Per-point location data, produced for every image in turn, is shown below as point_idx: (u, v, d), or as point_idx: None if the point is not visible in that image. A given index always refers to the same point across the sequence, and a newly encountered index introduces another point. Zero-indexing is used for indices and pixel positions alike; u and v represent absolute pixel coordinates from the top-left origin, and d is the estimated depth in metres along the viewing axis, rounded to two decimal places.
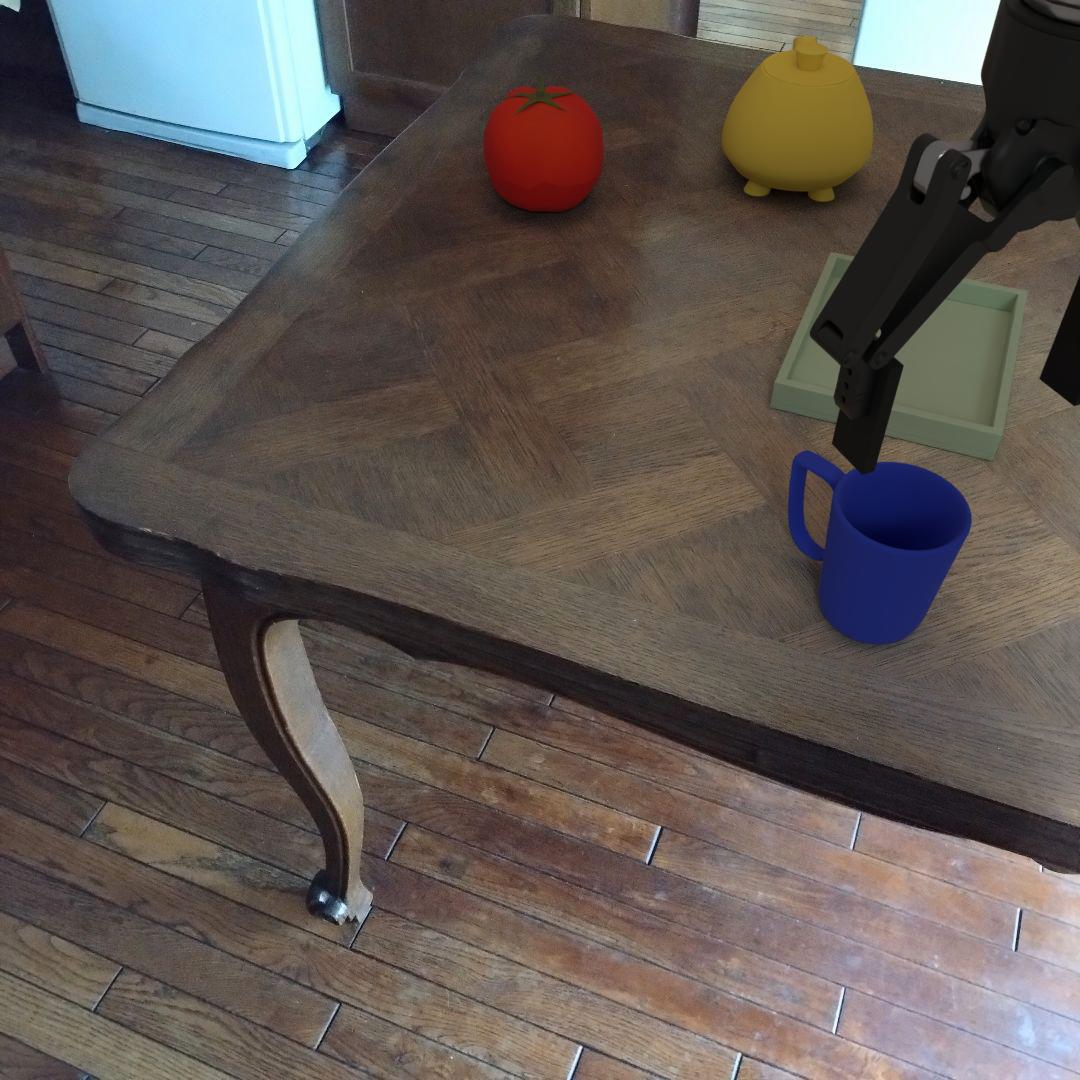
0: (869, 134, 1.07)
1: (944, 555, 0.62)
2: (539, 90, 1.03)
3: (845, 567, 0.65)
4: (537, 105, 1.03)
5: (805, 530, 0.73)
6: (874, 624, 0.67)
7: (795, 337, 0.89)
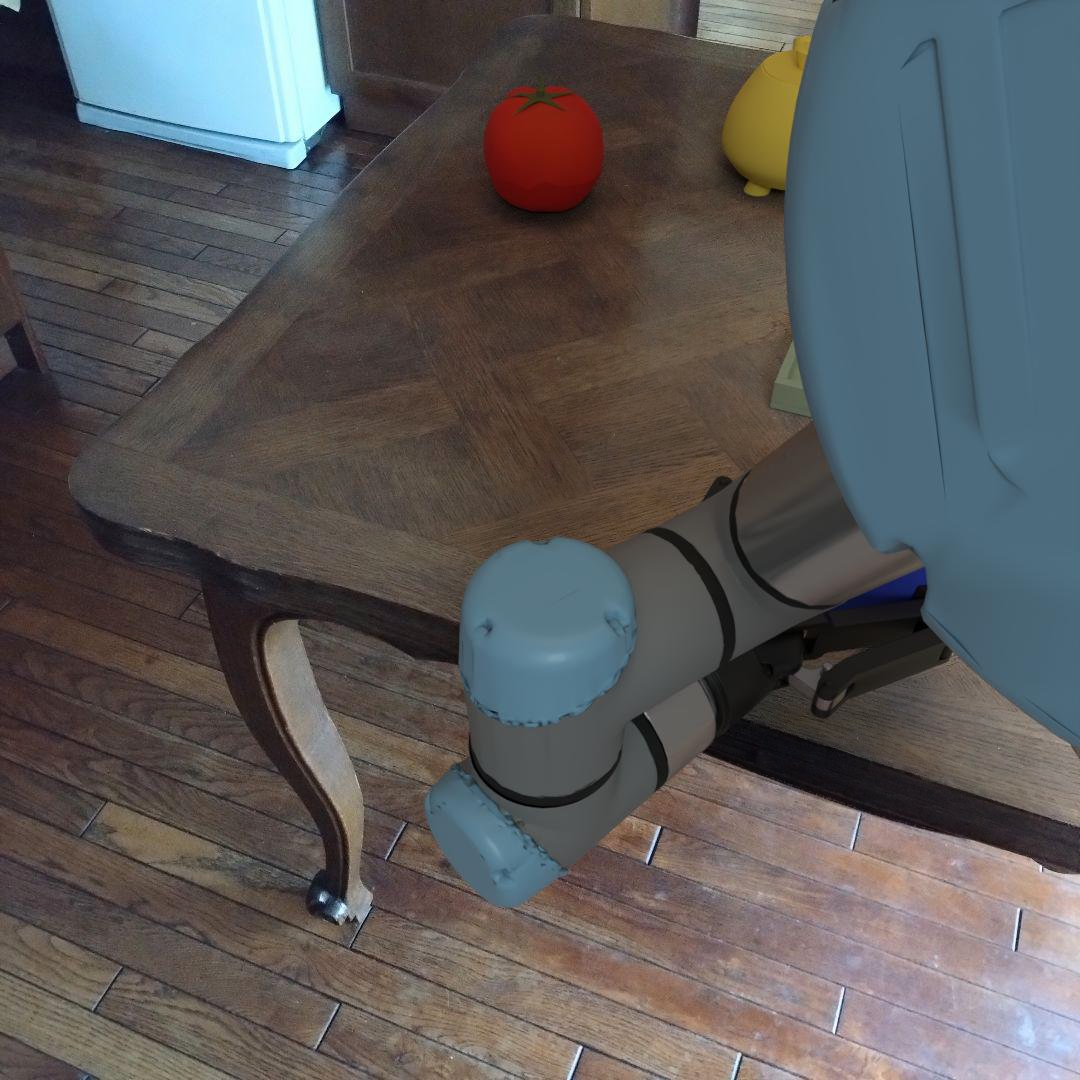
0: None
1: None
2: (539, 90, 1.03)
3: None
4: (537, 104, 1.03)
5: None
6: None
7: None
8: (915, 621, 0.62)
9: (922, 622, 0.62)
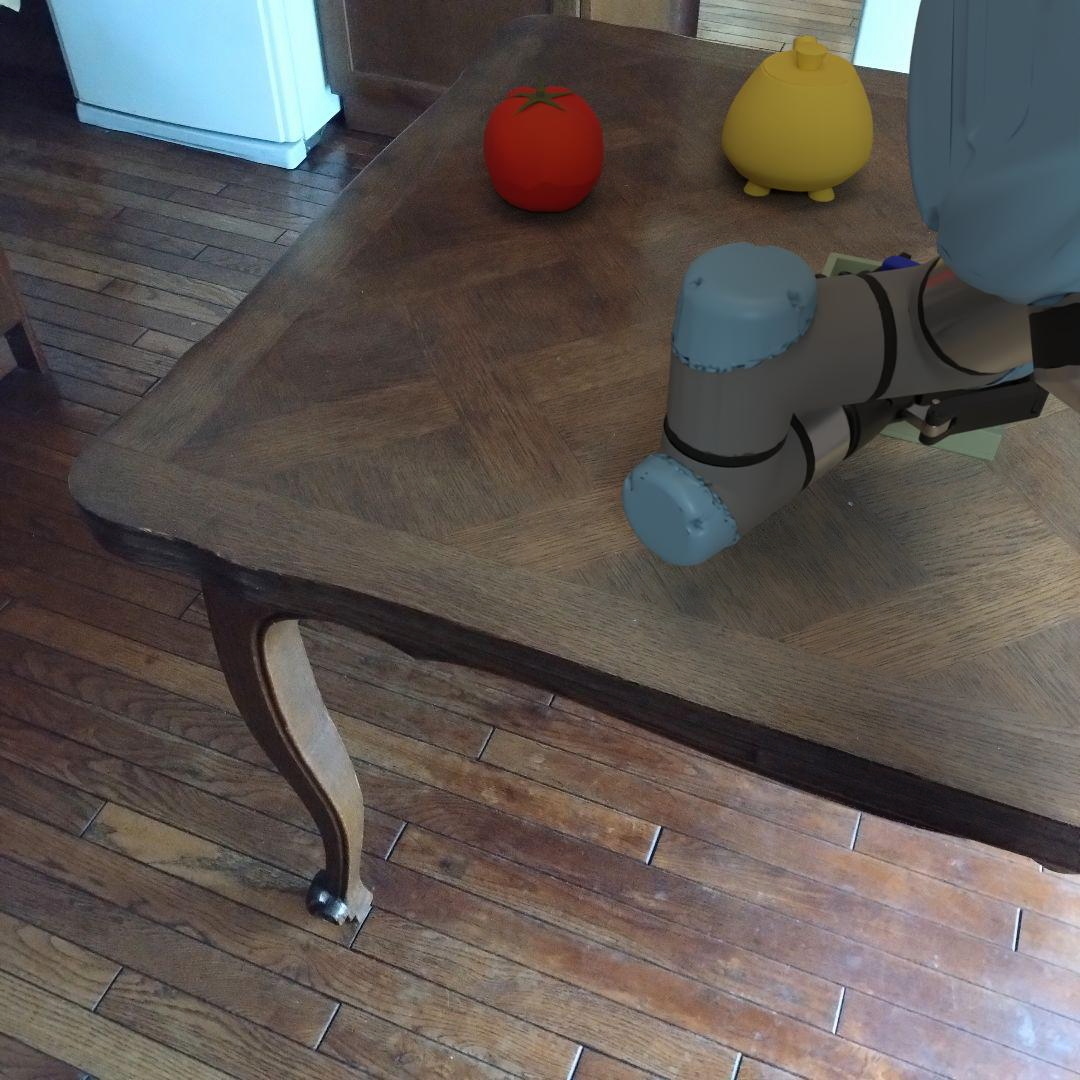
0: (869, 134, 1.07)
1: None
2: (539, 90, 1.03)
3: None
4: (537, 105, 1.03)
5: None
6: None
7: None
8: (1010, 381, 0.75)
9: (1016, 384, 0.75)
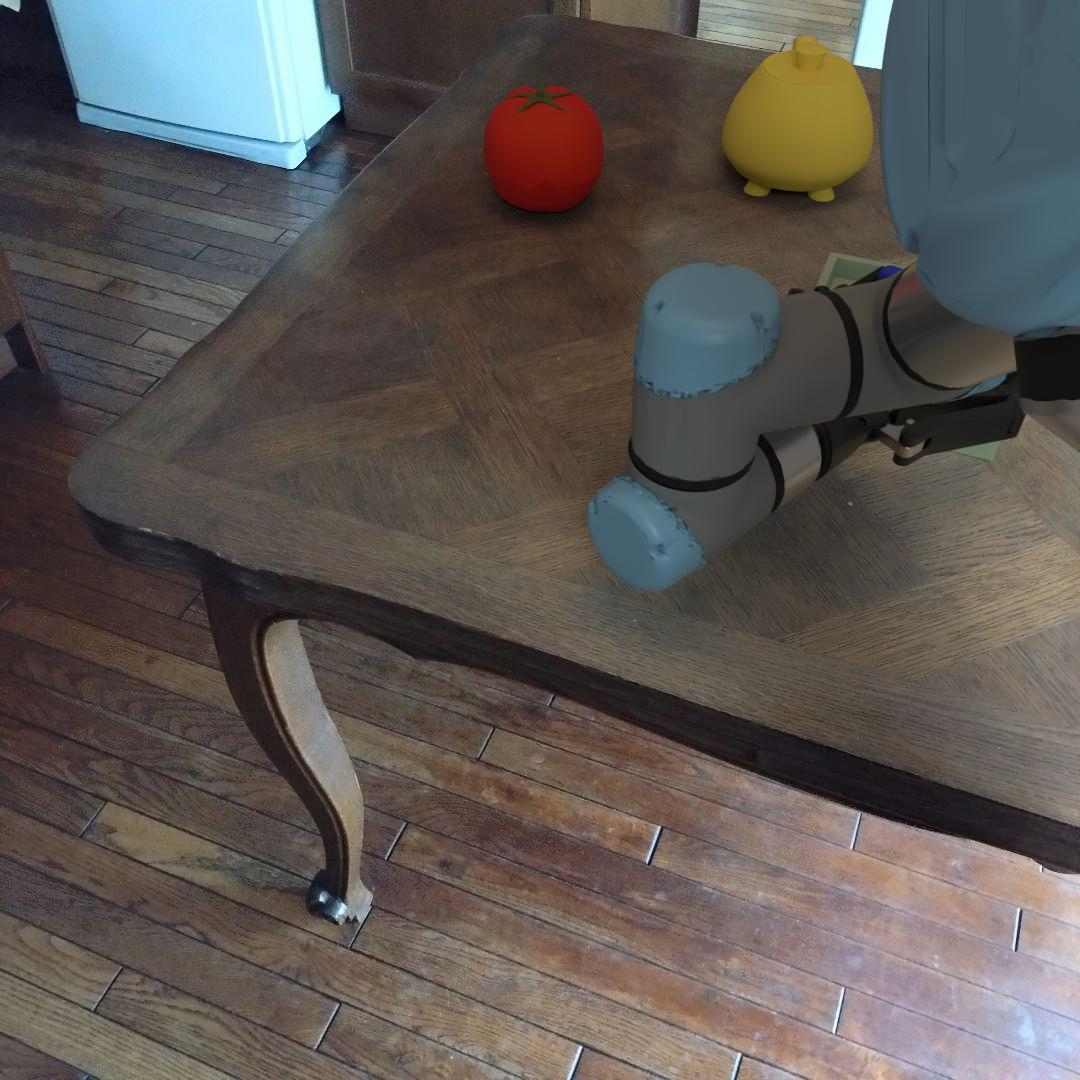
0: (869, 134, 1.07)
1: None
2: (539, 90, 1.03)
3: None
4: (537, 104, 1.03)
5: None
6: None
7: None
8: (987, 400, 0.73)
9: (993, 403, 0.73)
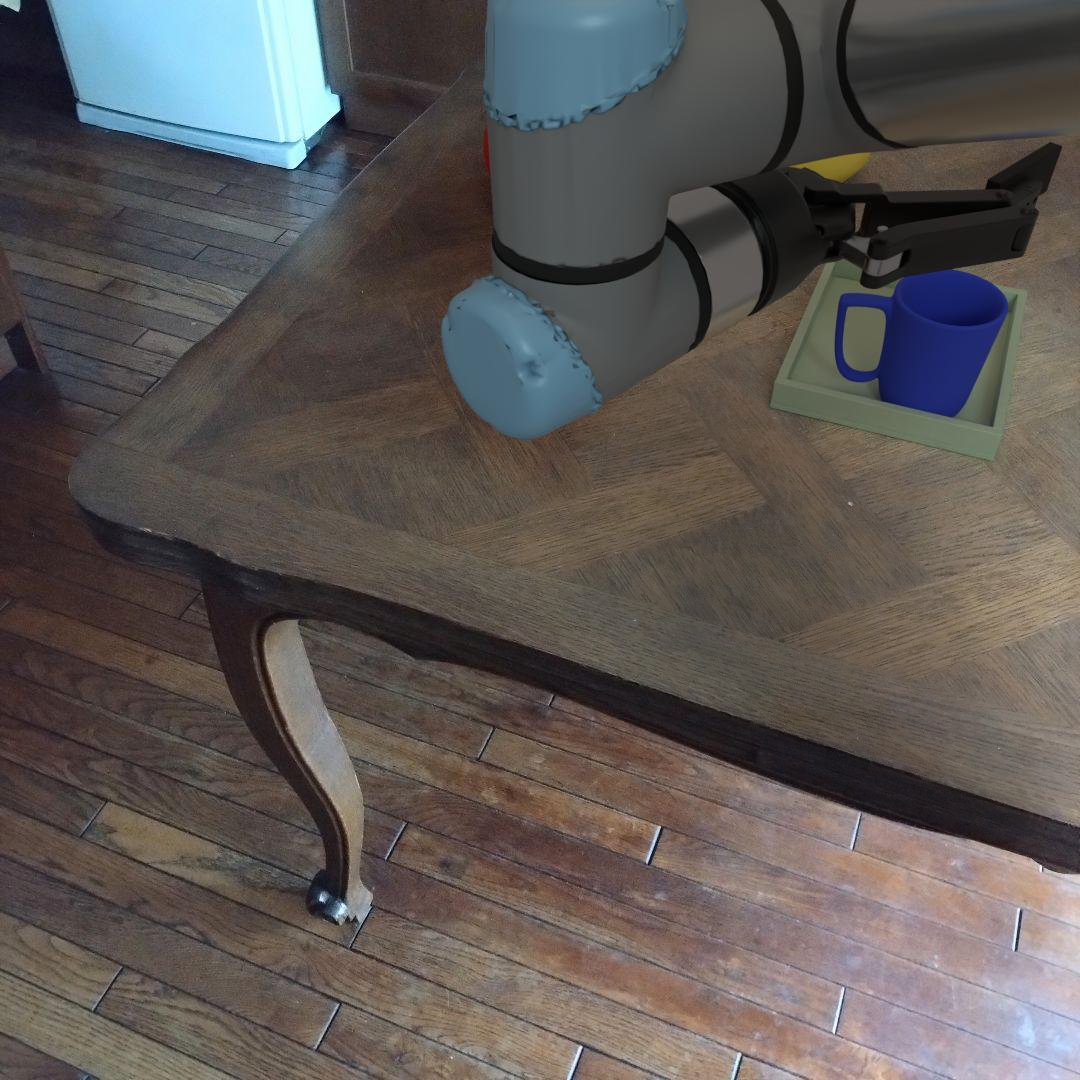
0: None
1: None
2: None
3: (937, 362, 0.79)
4: None
5: None
6: (957, 399, 0.82)
7: (795, 337, 0.89)
8: (984, 209, 0.56)
9: None
